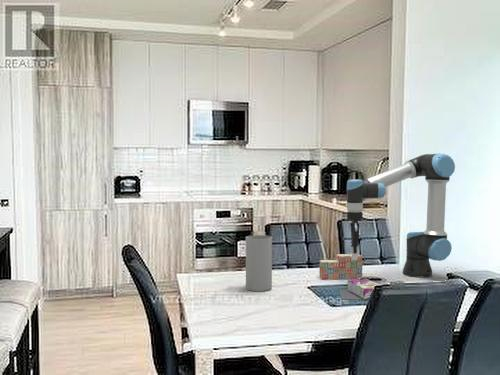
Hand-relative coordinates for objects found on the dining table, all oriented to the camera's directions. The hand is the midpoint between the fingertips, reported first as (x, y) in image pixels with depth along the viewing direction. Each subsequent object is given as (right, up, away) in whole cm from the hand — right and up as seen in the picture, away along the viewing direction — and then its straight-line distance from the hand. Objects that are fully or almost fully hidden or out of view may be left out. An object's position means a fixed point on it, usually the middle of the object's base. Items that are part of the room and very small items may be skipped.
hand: (354, 259), depth 248 cm
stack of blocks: (-3, -13, +19) cm, 23 cm away
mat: (-2, -14, -15) cm, 21 cm away
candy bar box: (0, -11, -6) cm, 13 cm away
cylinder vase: (-47, -14, -3) cm, 49 cm away
